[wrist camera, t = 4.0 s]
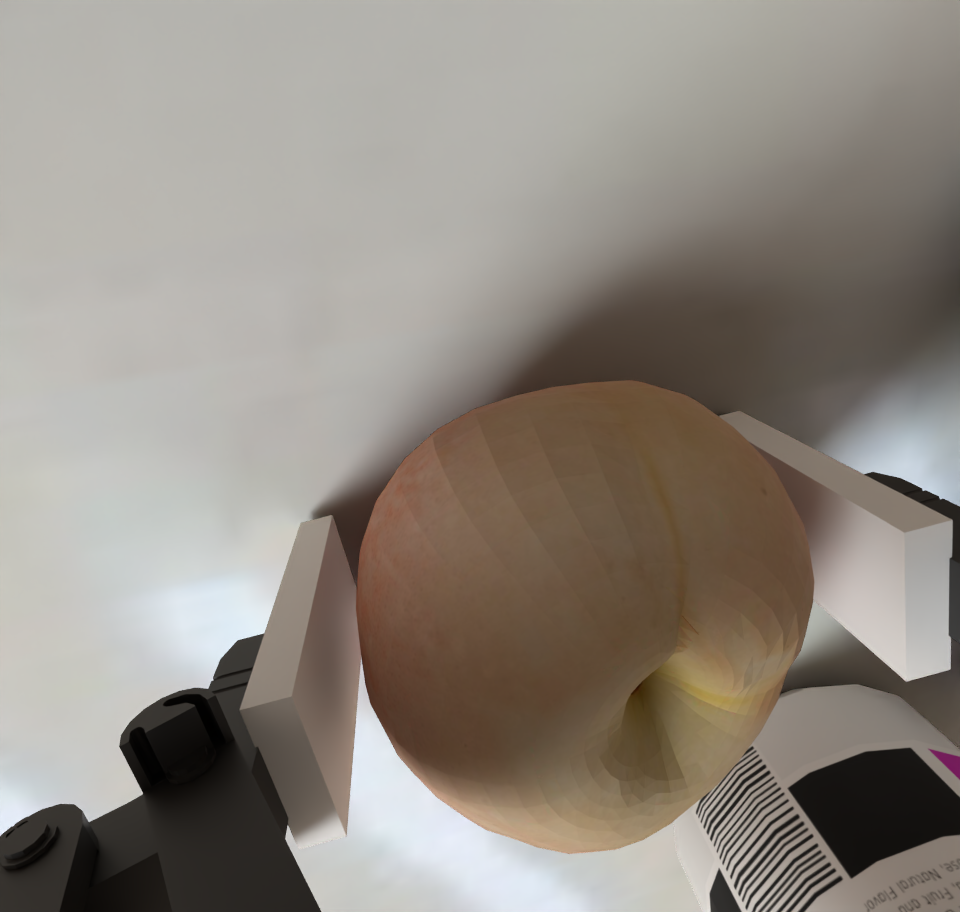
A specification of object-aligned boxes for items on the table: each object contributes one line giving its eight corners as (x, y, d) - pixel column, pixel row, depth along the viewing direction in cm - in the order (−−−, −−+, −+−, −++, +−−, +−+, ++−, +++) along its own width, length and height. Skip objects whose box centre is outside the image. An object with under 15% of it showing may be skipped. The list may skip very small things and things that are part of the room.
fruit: (657, 651, 18) (843, 948, 11) (357, 644, 17) (327, 971, 9) (720, 360, 16) (1017, 476, 8) (376, 329, 15) (355, 431, 7)
